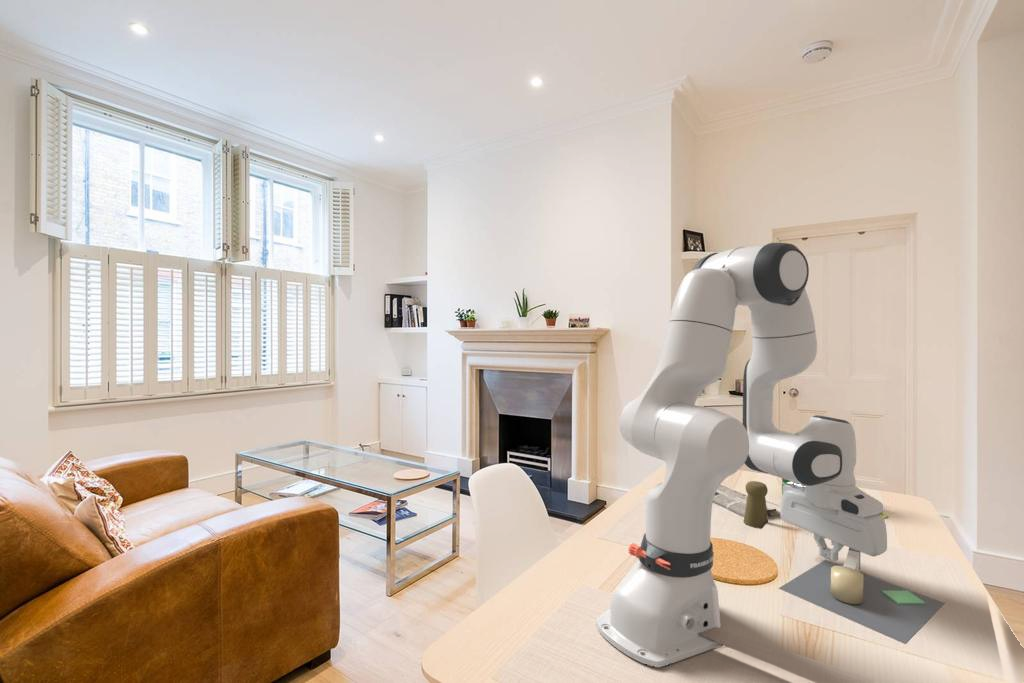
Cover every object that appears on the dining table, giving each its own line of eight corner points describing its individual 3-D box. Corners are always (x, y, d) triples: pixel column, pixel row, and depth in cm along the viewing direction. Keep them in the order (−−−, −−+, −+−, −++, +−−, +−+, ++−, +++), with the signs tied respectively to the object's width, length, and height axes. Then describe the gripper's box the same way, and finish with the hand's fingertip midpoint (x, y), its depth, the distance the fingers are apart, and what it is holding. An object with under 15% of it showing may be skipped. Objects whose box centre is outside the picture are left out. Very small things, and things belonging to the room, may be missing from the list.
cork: (772, 529, 125) (772, 486, 125) (746, 527, 126) (747, 485, 126) (765, 519, 131) (765, 479, 130) (740, 518, 132) (741, 478, 132)
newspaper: (667, 482, 163) (667, 472, 163) (697, 478, 168) (698, 468, 167) (751, 523, 130) (751, 510, 130) (786, 516, 134) (786, 503, 134)
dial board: (905, 652, 78) (905, 641, 78) (778, 595, 94) (778, 586, 94) (945, 610, 89) (945, 600, 89) (825, 566, 106) (826, 557, 106)
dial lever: (861, 607, 87) (862, 582, 87) (828, 597, 91) (829, 573, 90) (869, 572, 100) (869, 550, 99) (840, 564, 103) (840, 543, 103)
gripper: (774, 480, 110) (773, 540, 110) (873, 512, 91) (871, 584, 92) (792, 476, 112) (791, 535, 113) (892, 507, 94) (891, 577, 94)
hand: (828, 558), depth 102 cm, fingers closed
